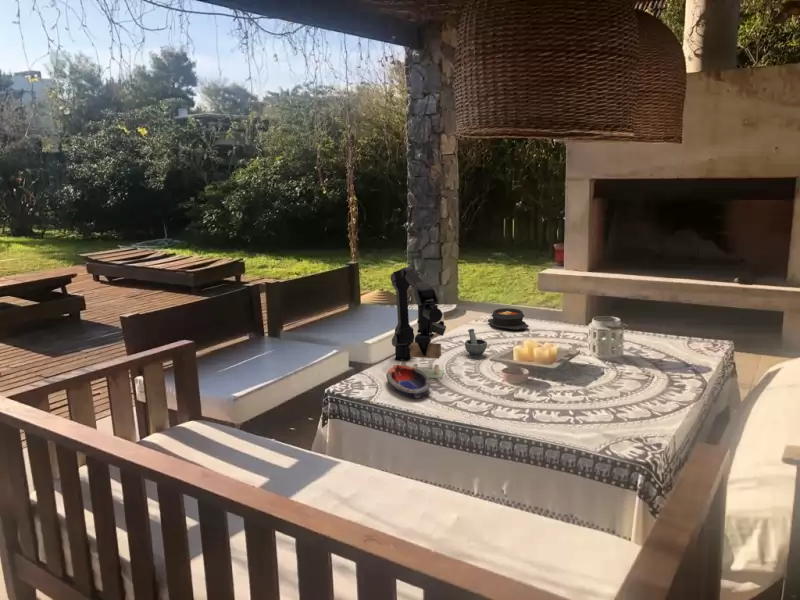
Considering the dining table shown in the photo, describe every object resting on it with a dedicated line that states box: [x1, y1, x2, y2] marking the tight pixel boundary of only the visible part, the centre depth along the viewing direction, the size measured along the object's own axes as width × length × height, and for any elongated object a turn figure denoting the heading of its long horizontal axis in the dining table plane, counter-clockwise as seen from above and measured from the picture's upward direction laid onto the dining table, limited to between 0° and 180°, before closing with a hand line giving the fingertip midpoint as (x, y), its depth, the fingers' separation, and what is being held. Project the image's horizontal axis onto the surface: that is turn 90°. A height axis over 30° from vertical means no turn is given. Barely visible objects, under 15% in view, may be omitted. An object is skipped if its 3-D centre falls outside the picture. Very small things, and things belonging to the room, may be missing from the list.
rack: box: [411, 363, 445, 380], centre depth 267 cm, size 14×9×4 cm, turn 81°
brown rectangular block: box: [410, 341, 442, 360], centre depth 266 cm, size 12×4×5 cm, turn 75°
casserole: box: [487, 307, 530, 330], centre depth 339 cm, size 25×19×8 cm
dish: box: [385, 364, 431, 399], centre depth 253 cm, size 16×31×5 cm, turn 14°
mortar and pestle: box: [464, 328, 488, 360], centre depth 289 cm, size 11×9×12 cm
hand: (425, 353), depth 266 cm, fingers closed on brown rectangular block, 5 cm apart
